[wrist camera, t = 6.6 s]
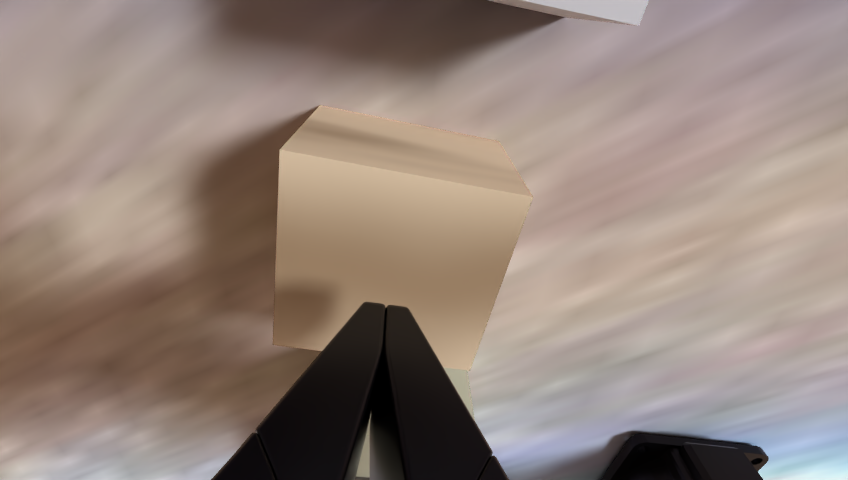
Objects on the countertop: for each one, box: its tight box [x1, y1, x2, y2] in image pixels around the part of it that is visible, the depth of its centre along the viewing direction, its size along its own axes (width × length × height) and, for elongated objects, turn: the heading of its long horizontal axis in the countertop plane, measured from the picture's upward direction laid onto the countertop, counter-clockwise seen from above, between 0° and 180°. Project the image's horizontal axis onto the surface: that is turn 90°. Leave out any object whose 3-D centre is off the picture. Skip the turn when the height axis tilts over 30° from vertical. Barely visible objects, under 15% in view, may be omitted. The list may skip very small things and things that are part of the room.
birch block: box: [273, 105, 533, 371], centre depth 11 cm, size 5×5×4 cm
